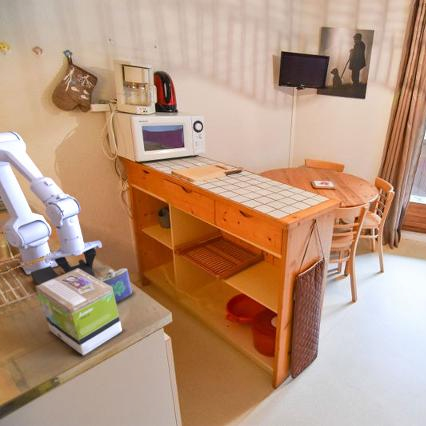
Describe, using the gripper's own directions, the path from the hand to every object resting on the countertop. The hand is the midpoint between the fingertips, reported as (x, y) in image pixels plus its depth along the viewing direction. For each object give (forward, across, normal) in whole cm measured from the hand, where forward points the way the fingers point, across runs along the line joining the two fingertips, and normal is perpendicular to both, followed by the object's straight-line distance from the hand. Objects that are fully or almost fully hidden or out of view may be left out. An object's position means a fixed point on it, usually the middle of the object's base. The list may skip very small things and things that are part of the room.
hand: (79, 273), depth 103 cm
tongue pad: (+1, -8, +1) cm, 8 cm away
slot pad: (+1, 0, 0) cm, 1 cm away
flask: (+2, +3, -20) cm, 20 cm away
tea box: (+2, -7, -28) cm, 29 cm away
